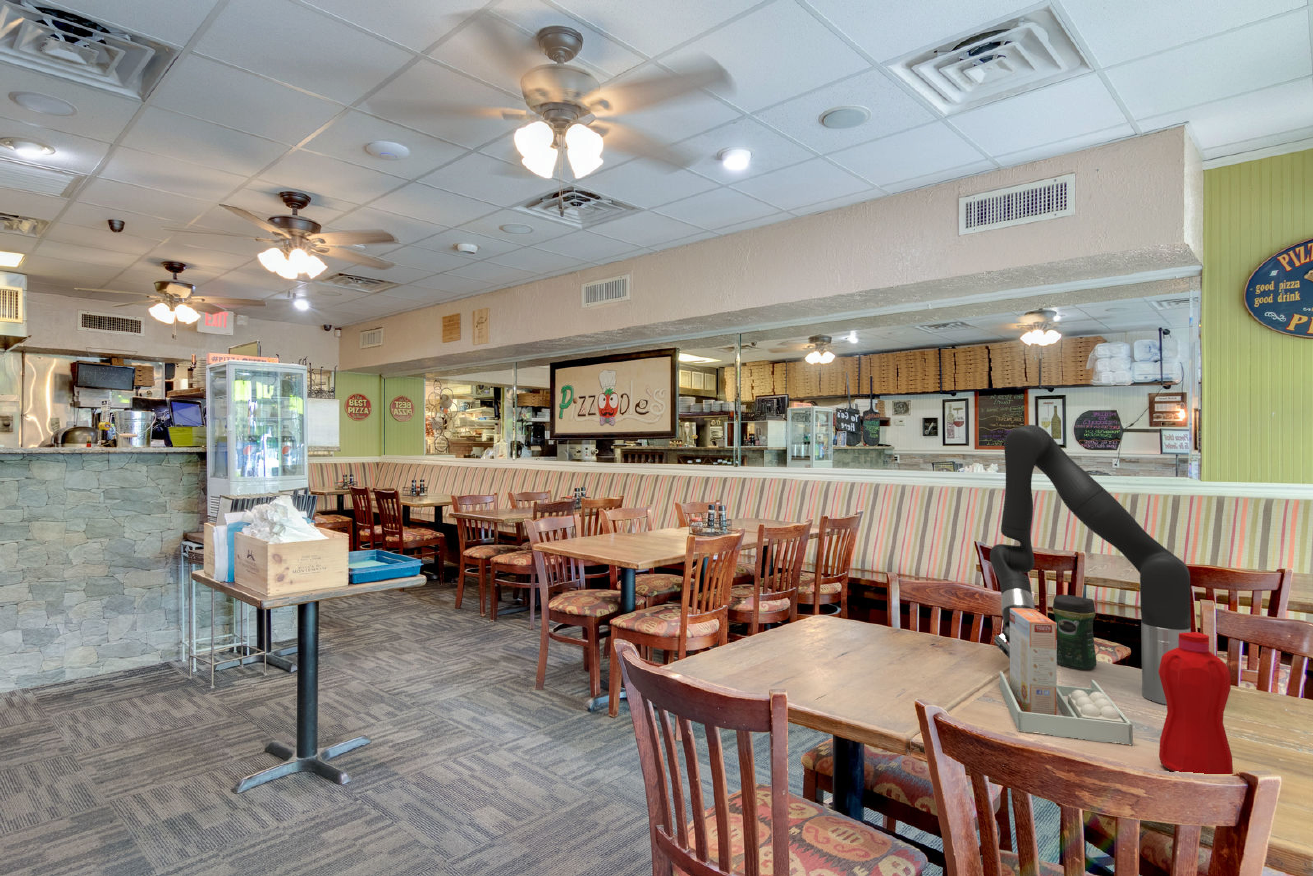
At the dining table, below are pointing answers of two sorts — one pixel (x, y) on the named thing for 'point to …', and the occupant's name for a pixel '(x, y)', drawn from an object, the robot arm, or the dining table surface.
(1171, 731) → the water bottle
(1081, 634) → the coffee jar
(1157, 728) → the dining table surface
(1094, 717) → the egg carton
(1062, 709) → the grey shallow rectangular frame
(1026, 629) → the cracker box
